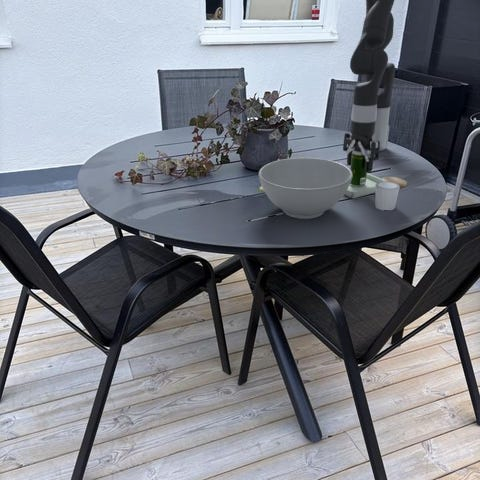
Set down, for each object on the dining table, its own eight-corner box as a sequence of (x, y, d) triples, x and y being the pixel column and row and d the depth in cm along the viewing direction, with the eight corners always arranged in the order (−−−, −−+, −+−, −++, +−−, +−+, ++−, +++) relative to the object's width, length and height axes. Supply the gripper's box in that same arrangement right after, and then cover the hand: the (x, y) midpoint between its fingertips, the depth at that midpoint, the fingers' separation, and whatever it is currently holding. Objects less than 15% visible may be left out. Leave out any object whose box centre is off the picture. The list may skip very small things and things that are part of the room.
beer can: (368, 184, 153) (372, 149, 148) (358, 188, 150) (362, 153, 145) (355, 180, 157) (359, 146, 151) (345, 184, 154) (348, 149, 148)
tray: (361, 176, 162) (361, 170, 161) (390, 188, 151) (391, 182, 150) (324, 185, 156) (325, 179, 155) (352, 198, 145) (353, 192, 144)
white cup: (384, 213, 135) (387, 191, 131) (368, 205, 140) (370, 183, 137) (401, 208, 137) (405, 186, 134) (385, 200, 143) (388, 179, 139)
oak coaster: (392, 176, 161) (392, 175, 160) (412, 184, 154) (412, 183, 153) (373, 181, 157) (373, 180, 157) (392, 190, 150) (392, 188, 150)
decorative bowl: (248, 199, 147) (247, 163, 141) (325, 188, 153) (327, 153, 147) (277, 236, 124) (277, 195, 118) (366, 222, 130) (370, 181, 124)
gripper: (389, 121, 139) (383, 172, 147) (357, 112, 150) (353, 160, 158) (370, 125, 136) (365, 177, 143) (339, 115, 147) (335, 164, 155)
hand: (358, 168), depth 151 cm, fingers open, 8 cm apart
